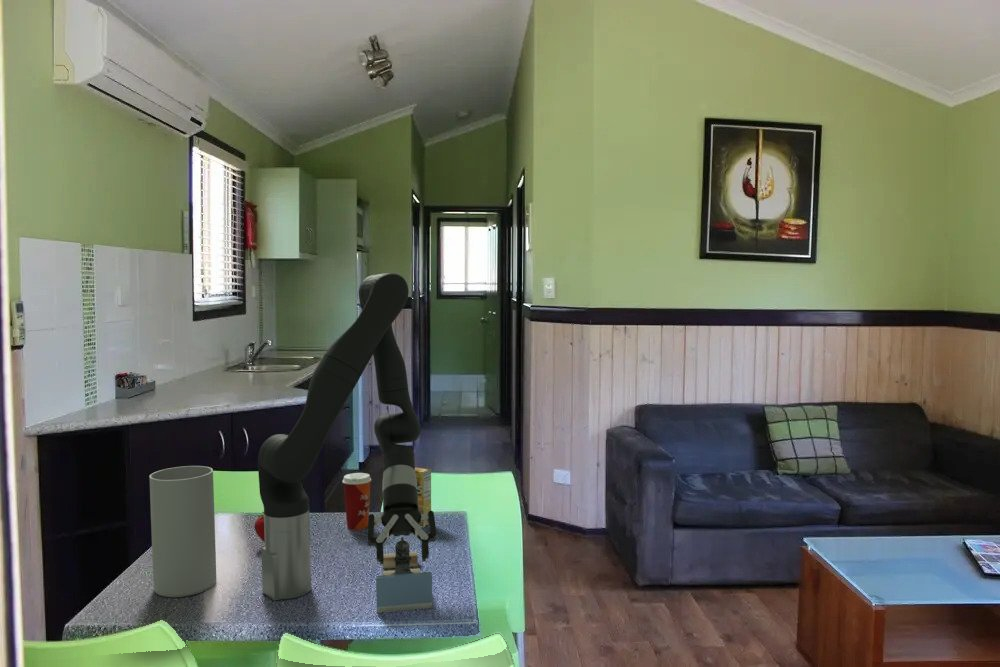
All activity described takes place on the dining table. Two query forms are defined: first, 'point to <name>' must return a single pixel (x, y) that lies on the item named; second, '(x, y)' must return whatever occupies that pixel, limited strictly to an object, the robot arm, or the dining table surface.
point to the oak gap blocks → (390, 562)
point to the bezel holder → (404, 592)
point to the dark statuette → (402, 558)
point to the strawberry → (260, 527)
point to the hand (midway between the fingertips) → (403, 561)
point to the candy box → (423, 491)
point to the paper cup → (357, 500)
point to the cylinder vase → (183, 530)
